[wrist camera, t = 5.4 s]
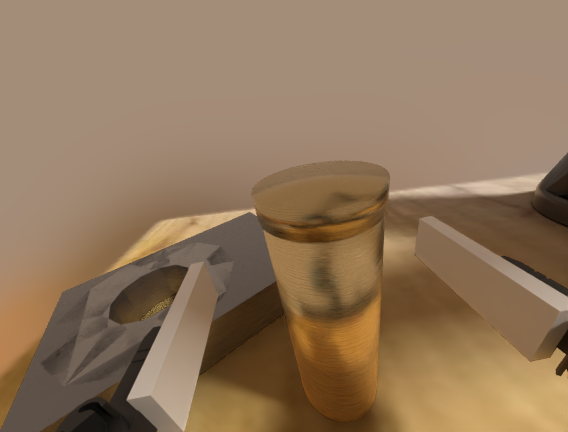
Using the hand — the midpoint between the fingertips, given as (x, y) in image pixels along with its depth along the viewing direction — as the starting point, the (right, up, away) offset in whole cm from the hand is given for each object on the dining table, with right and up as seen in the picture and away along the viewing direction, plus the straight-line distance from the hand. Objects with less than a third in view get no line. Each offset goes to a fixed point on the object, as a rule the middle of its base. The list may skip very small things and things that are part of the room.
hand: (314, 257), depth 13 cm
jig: (-11, -7, +10) cm, 16 cm away
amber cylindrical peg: (+2, -8, +2) cm, 9 cm away
